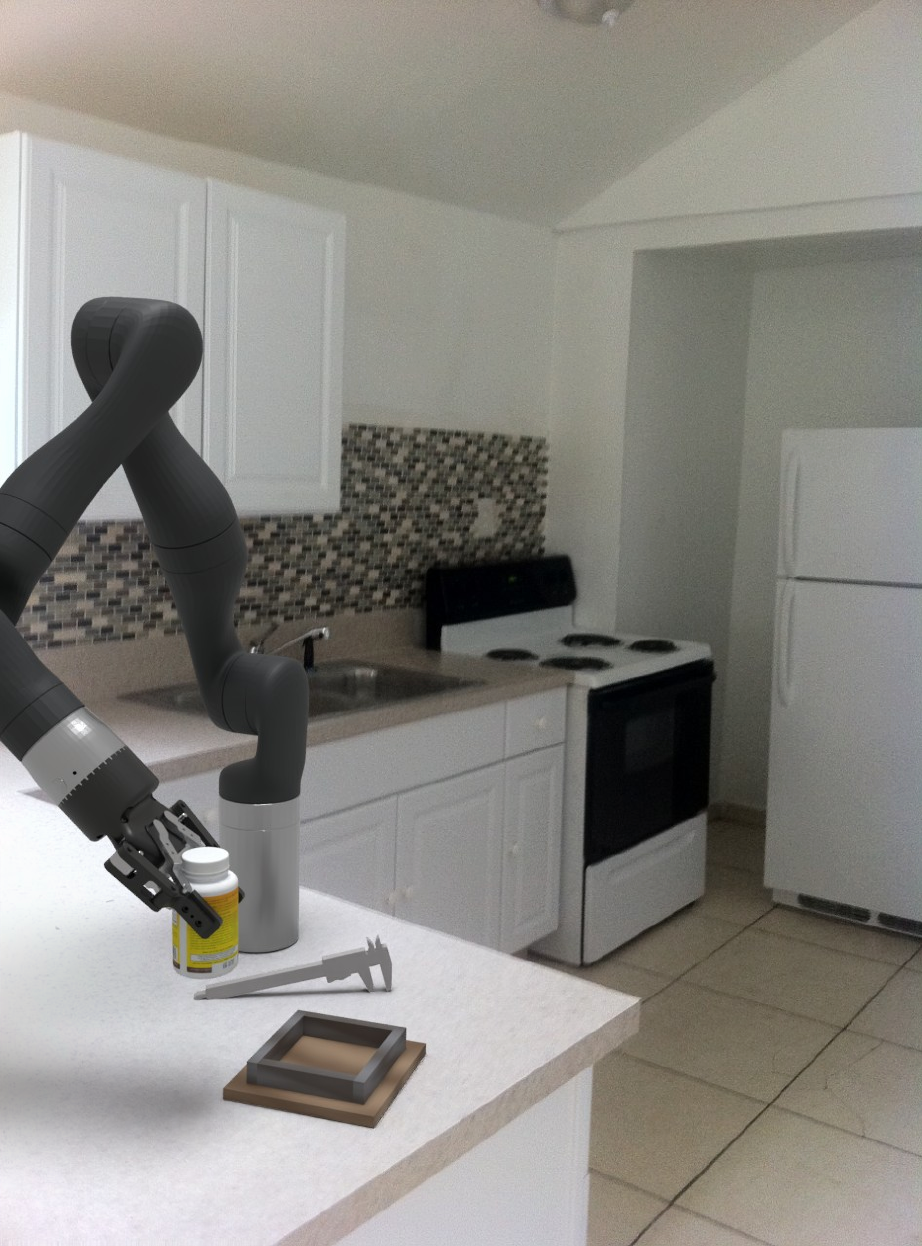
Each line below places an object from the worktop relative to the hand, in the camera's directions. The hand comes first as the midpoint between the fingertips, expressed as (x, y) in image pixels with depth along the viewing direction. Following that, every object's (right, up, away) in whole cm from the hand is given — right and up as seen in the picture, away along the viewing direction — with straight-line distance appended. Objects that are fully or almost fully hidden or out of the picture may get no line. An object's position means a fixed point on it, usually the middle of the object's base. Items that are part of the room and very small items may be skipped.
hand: (226, 916), depth 107 cm
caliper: (+3, -14, +24) cm, 28 cm away
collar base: (+8, -16, +7) cm, 19 cm away
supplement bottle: (-2, -5, +1) cm, 5 cm away
